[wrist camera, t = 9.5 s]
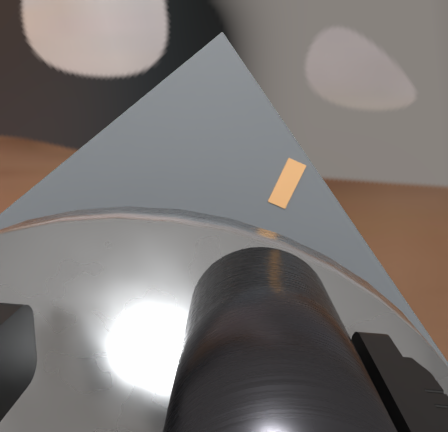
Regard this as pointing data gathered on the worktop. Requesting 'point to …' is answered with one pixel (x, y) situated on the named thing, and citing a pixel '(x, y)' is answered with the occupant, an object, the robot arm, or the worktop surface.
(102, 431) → the handwheel
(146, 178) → the wheel base
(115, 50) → the worktop surface
